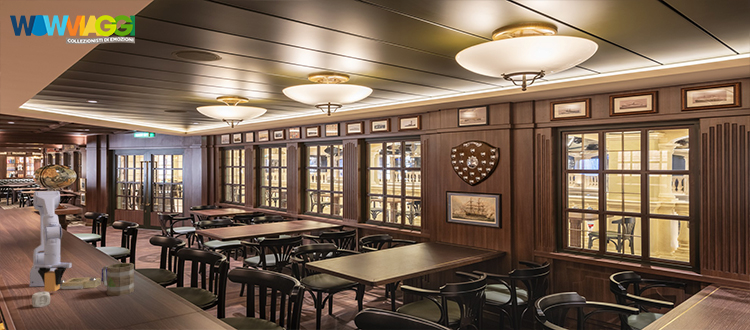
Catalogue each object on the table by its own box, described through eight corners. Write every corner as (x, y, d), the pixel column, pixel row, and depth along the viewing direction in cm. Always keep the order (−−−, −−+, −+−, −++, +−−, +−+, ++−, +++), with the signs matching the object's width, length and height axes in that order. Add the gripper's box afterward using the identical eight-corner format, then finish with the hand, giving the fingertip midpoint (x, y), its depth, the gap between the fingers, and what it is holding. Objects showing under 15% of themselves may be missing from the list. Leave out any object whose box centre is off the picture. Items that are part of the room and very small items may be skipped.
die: (46, 302, 181) (46, 290, 181) (50, 305, 178) (50, 293, 178) (31, 305, 177) (31, 293, 177) (35, 308, 174) (35, 295, 174)
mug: (139, 290, 200) (140, 263, 199) (118, 297, 189) (119, 269, 189) (113, 286, 205) (114, 261, 205) (92, 293, 194) (92, 266, 194)
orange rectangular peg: (44, 291, 190) (44, 273, 190) (49, 289, 194) (49, 271, 194) (54, 291, 191) (54, 273, 191) (59, 288, 195) (59, 270, 195)
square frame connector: (50, 289, 199) (50, 281, 199) (60, 284, 207) (60, 277, 207) (94, 288, 202) (94, 280, 202) (102, 283, 210) (102, 275, 210)
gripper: (28, 256, 187) (28, 287, 188) (65, 255, 190) (65, 286, 190) (38, 252, 194) (37, 283, 195) (74, 251, 197) (73, 282, 197)
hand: (52, 284), depth 193 cm, fingers closed on orange rectangular peg, 4 cm apart
